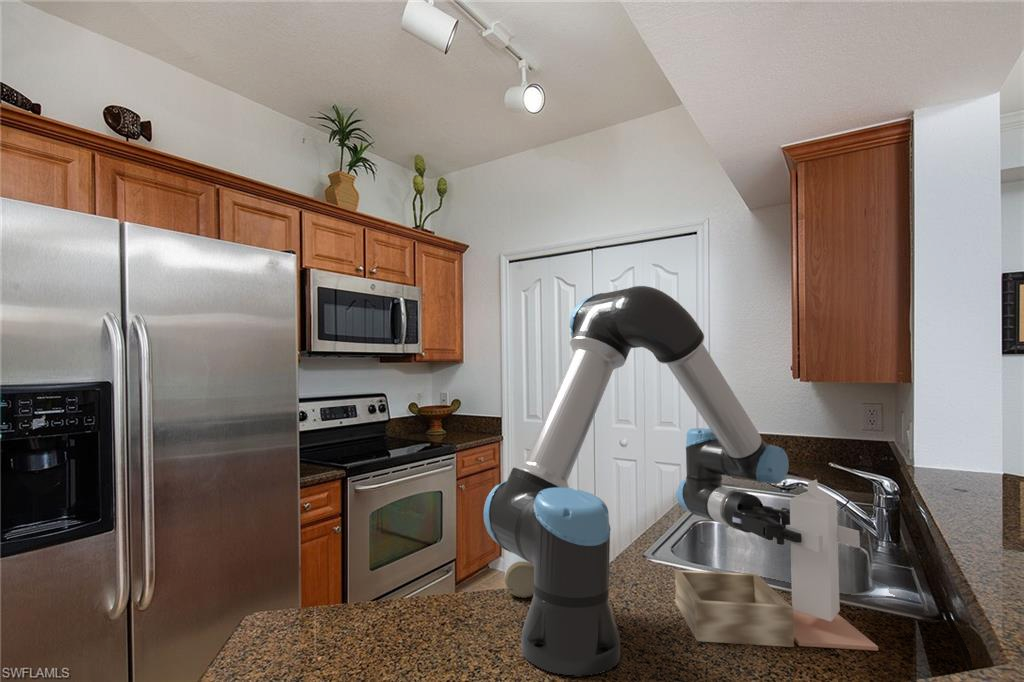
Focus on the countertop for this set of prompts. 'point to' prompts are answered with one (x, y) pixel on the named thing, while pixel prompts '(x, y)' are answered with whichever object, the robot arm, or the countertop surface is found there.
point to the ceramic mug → (519, 576)
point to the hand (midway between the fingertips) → (839, 541)
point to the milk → (815, 555)
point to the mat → (828, 633)
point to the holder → (733, 608)
